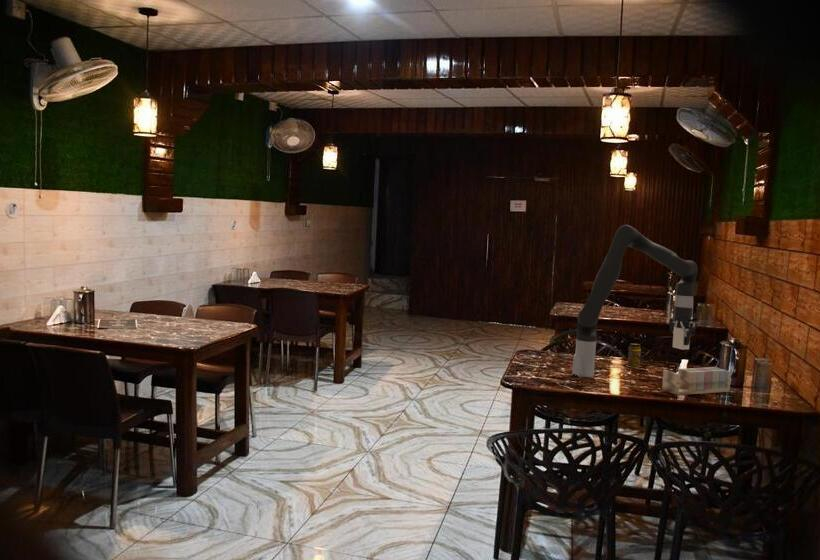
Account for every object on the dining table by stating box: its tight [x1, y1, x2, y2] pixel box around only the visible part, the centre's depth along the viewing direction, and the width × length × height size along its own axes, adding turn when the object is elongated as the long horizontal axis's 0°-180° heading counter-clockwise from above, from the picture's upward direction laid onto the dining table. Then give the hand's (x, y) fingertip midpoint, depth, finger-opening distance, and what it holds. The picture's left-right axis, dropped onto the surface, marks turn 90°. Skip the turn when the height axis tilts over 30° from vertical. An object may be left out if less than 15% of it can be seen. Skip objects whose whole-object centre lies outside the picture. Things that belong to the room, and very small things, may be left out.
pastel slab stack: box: [661, 366, 732, 396], centre depth 292 cm, size 9×30×10 cm, turn 111°
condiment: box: [627, 342, 642, 367], centre depth 340 cm, size 7×8×12 cm
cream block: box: [672, 327, 691, 351], centre depth 286 cm, size 4×6×9 cm
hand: (680, 343), depth 287 cm, fingers closed on cream block, 5 cm apart
